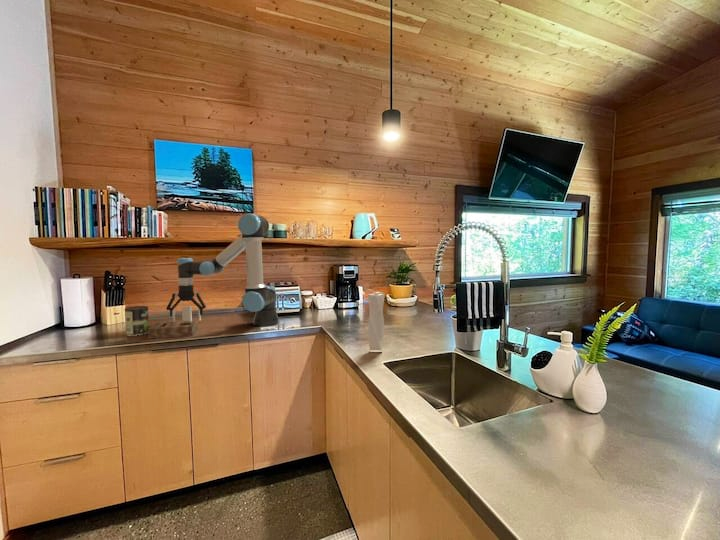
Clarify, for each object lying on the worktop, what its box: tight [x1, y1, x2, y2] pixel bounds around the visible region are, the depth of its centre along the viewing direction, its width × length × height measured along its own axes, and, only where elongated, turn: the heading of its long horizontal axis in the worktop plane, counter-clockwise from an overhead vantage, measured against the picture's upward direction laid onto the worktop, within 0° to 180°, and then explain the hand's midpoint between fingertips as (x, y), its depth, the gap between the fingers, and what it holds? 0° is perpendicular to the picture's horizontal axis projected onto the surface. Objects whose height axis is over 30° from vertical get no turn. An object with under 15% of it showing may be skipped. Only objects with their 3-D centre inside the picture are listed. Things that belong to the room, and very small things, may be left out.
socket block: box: [147, 320, 199, 340], centre depth 170 cm, size 20×14×5 cm
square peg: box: [181, 305, 193, 322], centre depth 185 cm, size 4×4×12 cm
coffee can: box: [124, 305, 150, 337], centre depth 170 cm, size 10×10×14 cm
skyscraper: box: [366, 288, 386, 351], centre depth 142 cm, size 8×8×28 cm
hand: (186, 321), depth 185 cm, fingers open, 13 cm apart
